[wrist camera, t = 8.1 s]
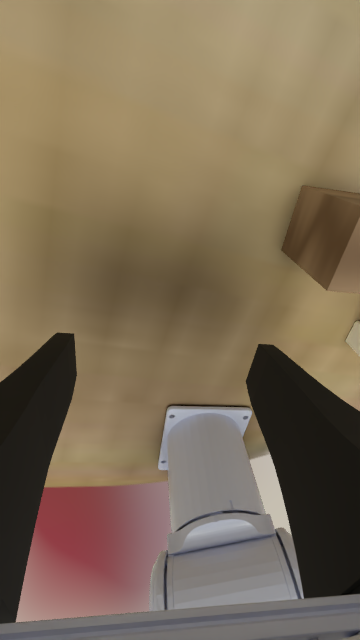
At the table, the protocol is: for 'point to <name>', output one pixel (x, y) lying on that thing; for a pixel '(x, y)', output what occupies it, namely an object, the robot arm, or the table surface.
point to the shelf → (354, 337)
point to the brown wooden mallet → (326, 238)
